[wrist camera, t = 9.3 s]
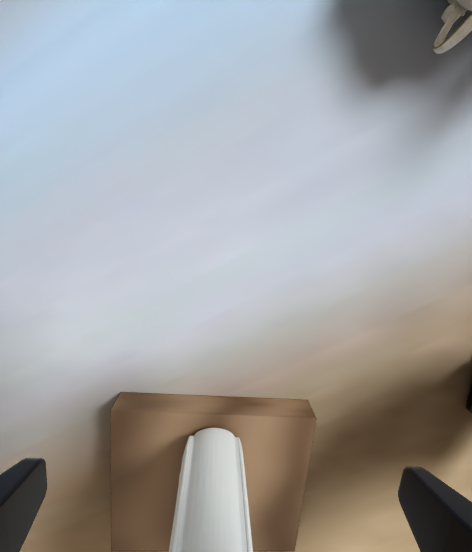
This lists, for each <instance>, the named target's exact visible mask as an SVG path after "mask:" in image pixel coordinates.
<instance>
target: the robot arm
mask: <svg viewBox="0 0 472 552" xmlns="http://www.w3.org/2000/svg"><path fill="white" fill-rule="evenodd" d="M466 408H467V410H468V411H470V412H471V413H472V388H471V391H470V395H469V398H468V402H467V405H466ZM46 490H47V477H46V463H45V460H44V459H42V458H25V459H23V460H21V461H20V462H18V463H17V464H15V465H14V466H12V467H11V468H10V469H8V470H7V471H5V472H4V473H2V474H1V475H0V552H19V551H20V549H21V547H22V545H23V543H24V541H25V538H26V536H27V534H28V532H29V530H30V528H31V525H32V523H33V521H34V519H35V517H36V515H37V512H38V510H39V508H40V506H41V504H42V502H43V499H44V497H45V494H46ZM398 497H399V501H400V504H401V507H402V509H403V511H404V514H405V516H406V518H407V521H408V523H409V525H410V528H411V530H412V533H413V535H414V537H415V540H416V542H417V544H418V547H419V549H420V551H421V552H472V502H471V501H469V500H468V499H466V498H465V497H464V496H462V495H461V494H459V493H458V492H456V491H455V490H454V489H452V488H451V487H449V486H448V485H447V484H445V483H444V482H442V481H441V480H439V479H438V478H437V477H435V476H434V475H432V474H431V473H430V472H428V471H427V470H425V469H424V468H422V467H406V468H405V469H404V470H403V474H402V478H401V482H400V486H399V490H398Z"/></svg>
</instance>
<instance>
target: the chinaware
mask: <svg viewBox="0 0 472 552" xmlns="http://www.w3.org/2000/svg"><path fill="white" fill-rule="evenodd" d="M447 1H448V2H449V3H450V4H451V5H450V6H448V7H447V8H446V10H445V11H444V12H443V14H442V17H441V18H442V20H443V22H444V23H445V24H444V26H443V28H442V29H441V31H440V33H439V34H438V36H437V38H436V40H435V42H434V44H433V51H434V52H435V53H437V54H442V53H444V52H446V51H448V50H449V49H451V48H452V47H454V46H455V45H456V44H458V43H459V42H460V41H461V40H462V39H463V38H464V37H466V36H467V35H468V34H469V33H470V32H471V31H472V14H471V15H470V16H469V17H468V18H467V19H466V21H465V22H464V23H463V24H462V25H461V26H460V27H459V28H458V29H457V30H456V31H455V32H454V33H453V34H452V35H451V36H450V37H449V38H448V39H447V40H446V41H445V42H444V43H443V41H444V40H445V38H446V36H447V34H448V32H449V30H450V29H451V27H452V25H453V24H454V22H455V21H456V20H457V19H458V18H459V17H460V15H461V16H462V17H463V16H464V15H465V13H466V11H467V10H470V11H472V0H447ZM442 43H443V44H442Z"/></svg>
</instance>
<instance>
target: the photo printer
mask: <svg viewBox="0 0 472 552" xmlns="http://www.w3.org/2000/svg"><path fill="white" fill-rule="evenodd" d="M169 552H253V548H252V537H251V527H250V517H249V506H248V497H247V487H246V477H245V468H244V459H243V451H242V445H241V441H240V438H239V437H234V435H233V433H231V432H230V431H228V430H225V429H222V428H206V429H203V430H200V431H198V432H196V433H195V435H194V436H189V438H188V441H187V444H186V447H185V450H184V454H183V458H182V465H181V472H180V475H179V486H178V493H177V500H176V507H175V514H174V520H173V527H172V533H171V540H170V546H169Z"/></svg>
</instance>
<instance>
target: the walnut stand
mask: <svg viewBox="0 0 472 552" xmlns="http://www.w3.org/2000/svg"><path fill="white" fill-rule="evenodd" d="M110 417H111V551H169V546H170V540H171V533H172V527H173V520H174V514H175V507H176V500H177V493H178V486H179V475H180V472H181V465H182V458H183V454H184V450H185V447H186V444H187V441H188V438H189V436H194V435H195V433H196V432H198V431H200V430H203V429H206V428H222V429H225V430H228V431H230V432H231V433H233V435H234V437H239V438H240V441H241V445H242V451H243V459H244V468H245V477H246V487H247V497H248V506H249V517H250V527H251V537H252V548H253V551H295V545H296V539H297V533H298V527H299V521H300V515H301V509H302V503H303V497H304V491H305V485H306V479H307V473H308V467H309V461H310V455H311V449H312V443H313V437H314V431H315V425H316V419H317V418H316V416H315V414H314V412H313V410H312V408H311V406H310V403H309V401H308V400H297V399H273V398H249V397H225V396H201V395H177V394H152V393H128V392H121V393H120V394H119V396H118V398H117V400H116V402H115V403H114V405H113V407H112V409H111V411H110Z"/></svg>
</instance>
